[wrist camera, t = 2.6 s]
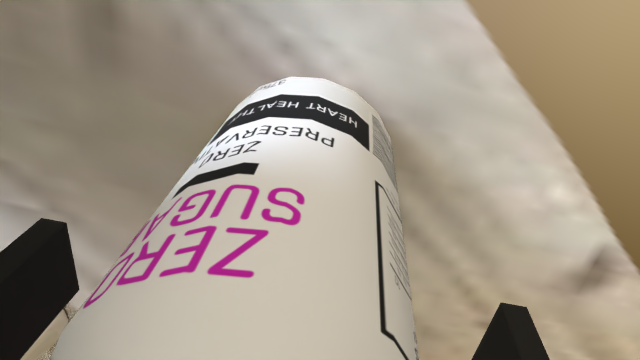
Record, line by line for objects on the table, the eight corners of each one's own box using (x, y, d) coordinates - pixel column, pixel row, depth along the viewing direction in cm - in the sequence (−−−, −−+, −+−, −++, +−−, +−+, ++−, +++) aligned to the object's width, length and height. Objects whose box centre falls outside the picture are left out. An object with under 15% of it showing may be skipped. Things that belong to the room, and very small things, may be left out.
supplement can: (316, 246, 24) (256, 621, 11) (196, 154, 21) (-66, 487, 8) (427, 153, 20) (540, 542, 7) (297, 32, 18) (115, 277, 5)
